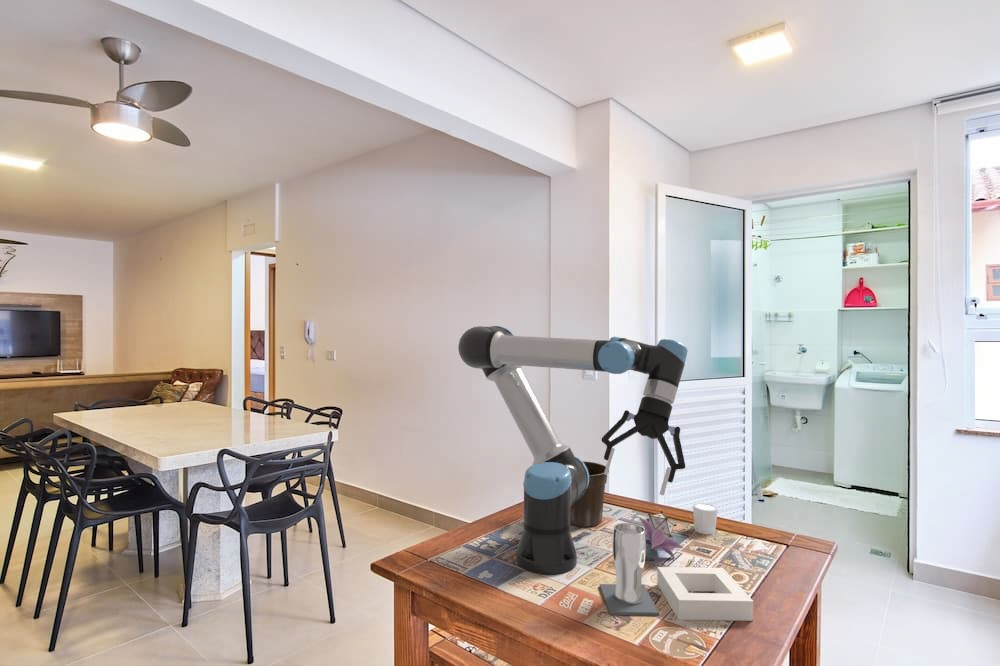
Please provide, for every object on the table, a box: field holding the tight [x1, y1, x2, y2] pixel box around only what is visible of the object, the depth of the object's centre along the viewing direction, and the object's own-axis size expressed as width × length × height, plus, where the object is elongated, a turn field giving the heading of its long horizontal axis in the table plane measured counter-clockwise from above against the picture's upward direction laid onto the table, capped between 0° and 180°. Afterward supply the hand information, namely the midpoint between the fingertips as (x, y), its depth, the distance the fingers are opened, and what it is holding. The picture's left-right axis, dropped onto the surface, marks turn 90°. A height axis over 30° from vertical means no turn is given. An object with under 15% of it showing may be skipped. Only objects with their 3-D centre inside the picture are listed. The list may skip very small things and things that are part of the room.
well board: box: [656, 566, 755, 622], centre depth 117 cm, size 15×15×4 cm
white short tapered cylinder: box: [692, 503, 719, 535], centre depth 158 cm, size 7×7×7 cm
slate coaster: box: [599, 583, 660, 616], centre depth 117 cm, size 10×12×1 cm
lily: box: [639, 517, 684, 563], centre depth 138 cm, size 12×12×10 cm
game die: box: [645, 510, 678, 539], centre depth 149 cm, size 9×8×10 cm
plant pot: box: [570, 460, 610, 528], centre depth 165 cm, size 16×16×16 cm
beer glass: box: [612, 522, 647, 605], centre depth 117 cm, size 7×7×15 cm
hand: (633, 484), depth 129 cm, fingers open, 13 cm apart
